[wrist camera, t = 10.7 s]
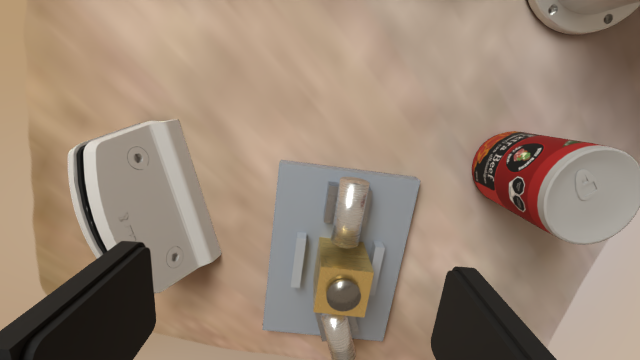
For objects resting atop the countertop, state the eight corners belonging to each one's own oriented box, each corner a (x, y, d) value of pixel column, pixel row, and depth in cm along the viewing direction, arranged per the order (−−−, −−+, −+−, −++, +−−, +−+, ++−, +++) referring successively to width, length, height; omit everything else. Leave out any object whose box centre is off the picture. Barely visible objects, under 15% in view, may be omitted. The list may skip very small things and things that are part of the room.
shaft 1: (329, 166, 32) (332, 182, 27) (368, 172, 33) (380, 187, 27) (321, 220, 34) (322, 246, 28) (358, 225, 34) (368, 251, 28)
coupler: (355, 280, 35) (365, 322, 28) (313, 276, 34) (313, 316, 28) (363, 242, 33) (375, 276, 27) (319, 236, 33) (320, 270, 27)
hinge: (222, 256, 35) (153, 319, 26) (191, 256, 37) (116, 315, 28) (177, 115, 31) (75, 132, 22) (144, 122, 32) (36, 140, 23)
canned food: (506, 115, 31) (605, 124, 21) (553, 162, 33) (668, 193, 22) (454, 169, 33) (521, 204, 22) (501, 212, 34) (585, 263, 24)
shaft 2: (313, 288, 36) (313, 324, 31) (348, 281, 36) (354, 316, 30) (323, 327, 38) (325, 369, 32) (356, 321, 38) (364, 361, 32)
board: (280, 159, 32) (277, 166, 29) (415, 177, 33) (425, 184, 30) (264, 321, 38) (260, 339, 35) (380, 332, 38) (385, 351, 36)
